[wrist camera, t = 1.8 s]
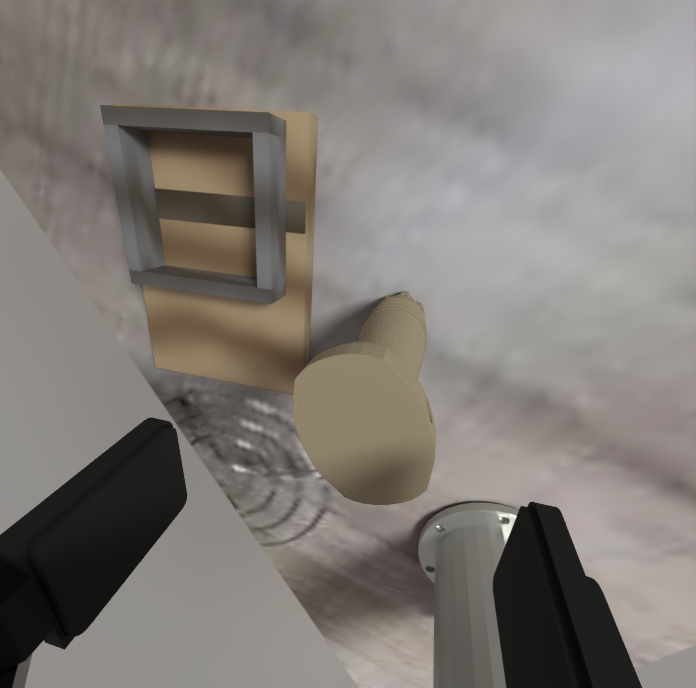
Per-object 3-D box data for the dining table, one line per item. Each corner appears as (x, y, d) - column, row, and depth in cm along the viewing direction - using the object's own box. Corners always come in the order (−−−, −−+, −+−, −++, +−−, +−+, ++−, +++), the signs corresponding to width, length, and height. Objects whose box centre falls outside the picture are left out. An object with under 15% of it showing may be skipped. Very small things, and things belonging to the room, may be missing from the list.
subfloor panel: (308, 387, 31) (291, 413, 27) (167, 360, 33) (134, 380, 29) (317, 117, 22) (294, 102, 19) (129, 109, 25) (77, 94, 21)
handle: (383, 357, 28) (331, 508, 14) (357, 279, 26) (269, 370, 12) (445, 343, 26) (452, 499, 13) (422, 259, 24) (402, 339, 11)
